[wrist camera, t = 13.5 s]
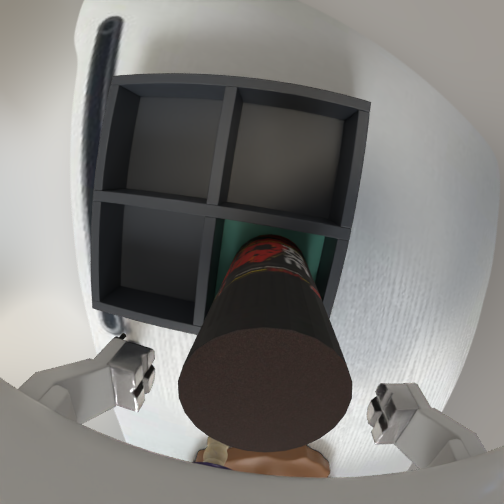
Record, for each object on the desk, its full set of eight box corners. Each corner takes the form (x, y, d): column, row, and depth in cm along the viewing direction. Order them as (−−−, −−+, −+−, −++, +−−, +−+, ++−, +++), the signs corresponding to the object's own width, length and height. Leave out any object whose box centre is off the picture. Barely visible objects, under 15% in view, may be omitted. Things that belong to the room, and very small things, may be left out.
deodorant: (315, 244, 23) (381, 346, 8) (294, 312, 24) (315, 459, 10) (241, 225, 23) (189, 304, 8) (225, 295, 24) (171, 432, 10)
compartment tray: (137, 90, 21) (112, 75, 17) (353, 115, 21) (371, 101, 16) (116, 289, 26) (92, 308, 21) (311, 326, 25) (318, 354, 21)
